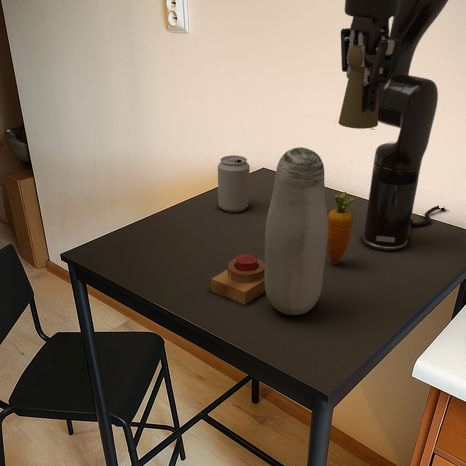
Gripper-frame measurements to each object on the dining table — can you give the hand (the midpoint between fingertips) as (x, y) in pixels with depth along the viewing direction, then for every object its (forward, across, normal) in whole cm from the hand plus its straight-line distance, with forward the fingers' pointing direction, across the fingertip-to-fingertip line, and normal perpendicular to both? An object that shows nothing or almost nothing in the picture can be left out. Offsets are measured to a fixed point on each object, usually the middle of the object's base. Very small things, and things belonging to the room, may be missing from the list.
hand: (360, 107), depth 90 cm
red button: (+29, +8, +15) cm, 34 cm away
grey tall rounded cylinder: (+33, -2, +10) cm, 35 cm away
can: (+33, +47, +6) cm, 58 cm away
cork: (+2, 0, 0) cm, 2 cm away
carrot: (+33, +12, -5) cm, 36 cm away
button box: (+33, +8, +15) cm, 37 cm away
